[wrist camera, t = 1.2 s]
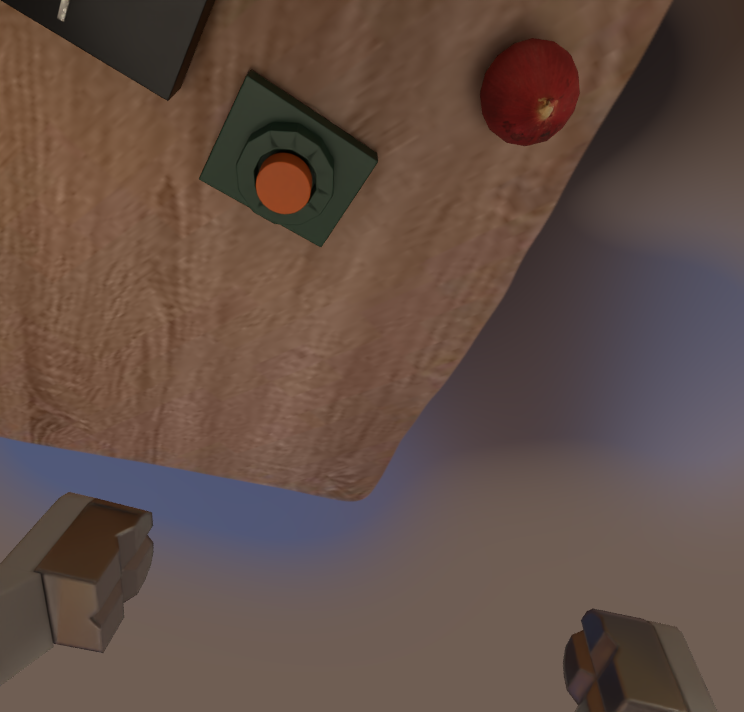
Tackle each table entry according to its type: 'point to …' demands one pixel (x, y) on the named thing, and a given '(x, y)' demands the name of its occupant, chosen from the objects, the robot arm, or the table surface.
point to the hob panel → (129, 34)
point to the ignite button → (284, 183)
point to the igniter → (295, 136)
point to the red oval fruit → (529, 92)
